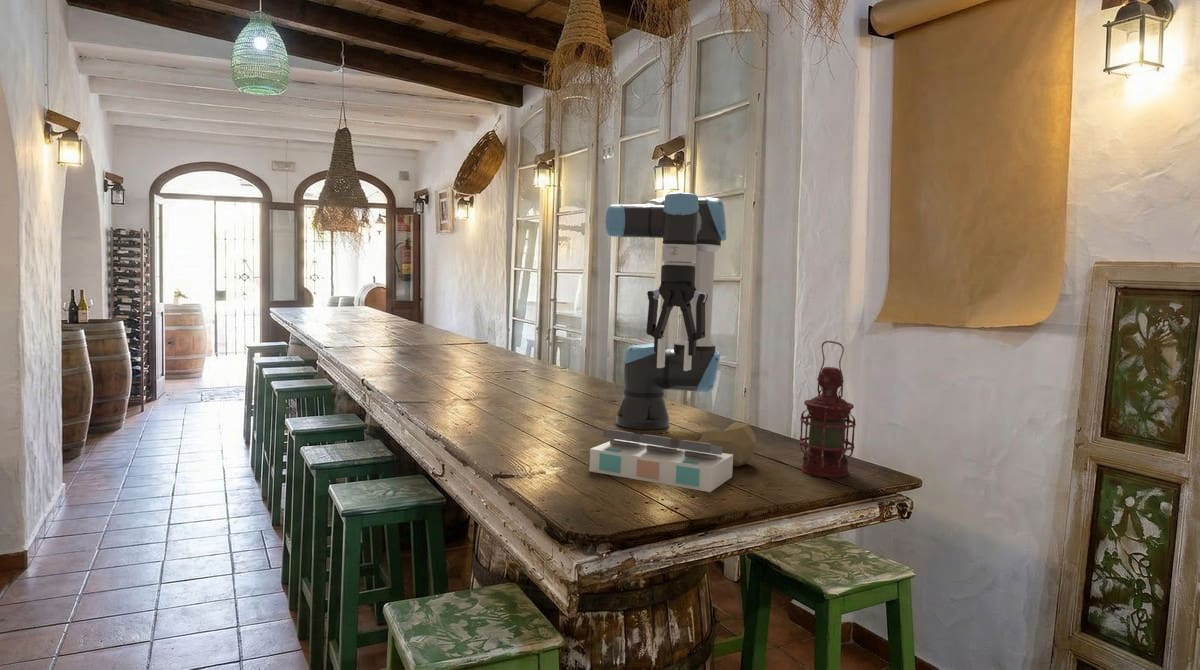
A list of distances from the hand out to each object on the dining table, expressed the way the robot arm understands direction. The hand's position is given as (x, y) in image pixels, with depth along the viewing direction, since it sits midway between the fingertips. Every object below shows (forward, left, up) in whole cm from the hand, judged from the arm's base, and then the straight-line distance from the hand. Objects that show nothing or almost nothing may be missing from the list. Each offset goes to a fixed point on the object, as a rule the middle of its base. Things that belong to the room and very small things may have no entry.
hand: (673, 368), depth 178 cm
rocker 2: (+5, +9, -16) cm, 19 cm away
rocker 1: (+5, -9, -16) cm, 19 cm away
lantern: (-19, +30, -23) cm, 43 cm away
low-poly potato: (-12, +9, -23) cm, 28 cm away
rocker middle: (+5, 0, -16) cm, 16 cm away
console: (+5, 0, -23) cm, 23 cm away
